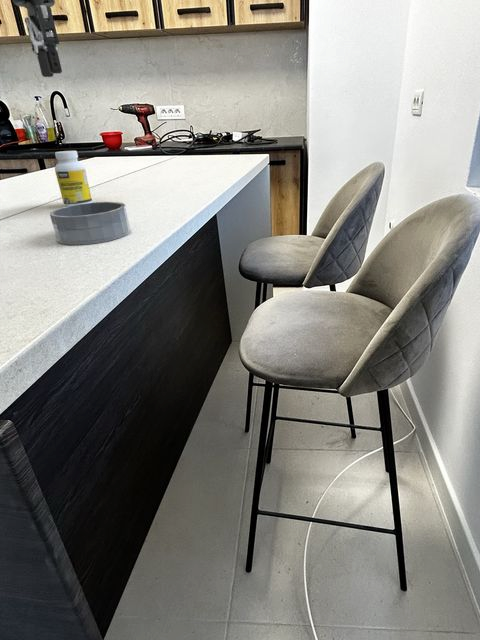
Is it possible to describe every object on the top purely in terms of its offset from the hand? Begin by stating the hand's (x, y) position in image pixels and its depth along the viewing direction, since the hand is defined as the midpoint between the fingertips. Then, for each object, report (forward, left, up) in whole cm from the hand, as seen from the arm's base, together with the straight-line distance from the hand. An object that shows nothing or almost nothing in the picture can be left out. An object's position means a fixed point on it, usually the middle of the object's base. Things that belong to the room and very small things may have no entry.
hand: (52, 75), depth 89 cm
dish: (+18, -27, -26) cm, 41 cm away
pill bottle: (-2, +1, -26) cm, 26 cm away
